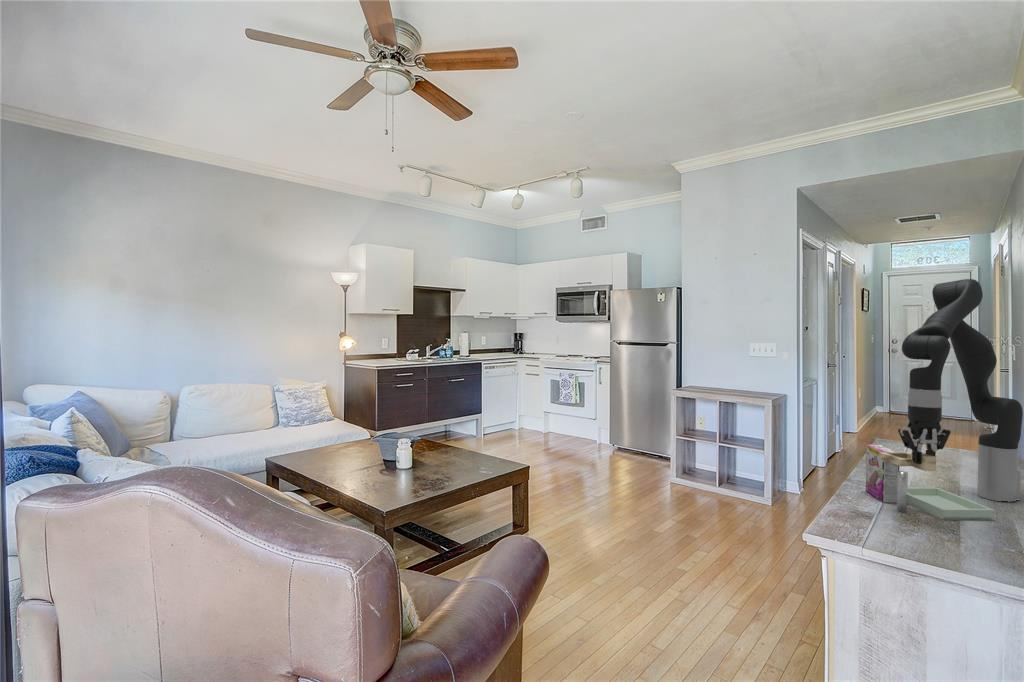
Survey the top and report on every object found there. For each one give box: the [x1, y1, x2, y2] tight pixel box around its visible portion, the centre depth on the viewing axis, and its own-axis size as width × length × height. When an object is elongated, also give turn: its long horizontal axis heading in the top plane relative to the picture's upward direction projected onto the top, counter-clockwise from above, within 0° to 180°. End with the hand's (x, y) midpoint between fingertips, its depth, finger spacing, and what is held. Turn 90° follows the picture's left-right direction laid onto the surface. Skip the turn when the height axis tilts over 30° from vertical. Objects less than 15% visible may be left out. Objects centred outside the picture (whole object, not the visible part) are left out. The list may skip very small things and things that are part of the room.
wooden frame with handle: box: [879, 451, 937, 472], centre depth 147 cm, size 14×9×4 cm, turn 179°
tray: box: [907, 487, 996, 521], centre depth 153 cm, size 15×20×3 cm
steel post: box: [896, 470, 909, 513], centre depth 150 cm, size 2×2×12 cm
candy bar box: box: [865, 444, 900, 504], centre depth 162 cm, size 11×5×16 cm, turn 168°
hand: (923, 463), depth 142 cm, fingers closed on wooden frame with handle, 3 cm apart
